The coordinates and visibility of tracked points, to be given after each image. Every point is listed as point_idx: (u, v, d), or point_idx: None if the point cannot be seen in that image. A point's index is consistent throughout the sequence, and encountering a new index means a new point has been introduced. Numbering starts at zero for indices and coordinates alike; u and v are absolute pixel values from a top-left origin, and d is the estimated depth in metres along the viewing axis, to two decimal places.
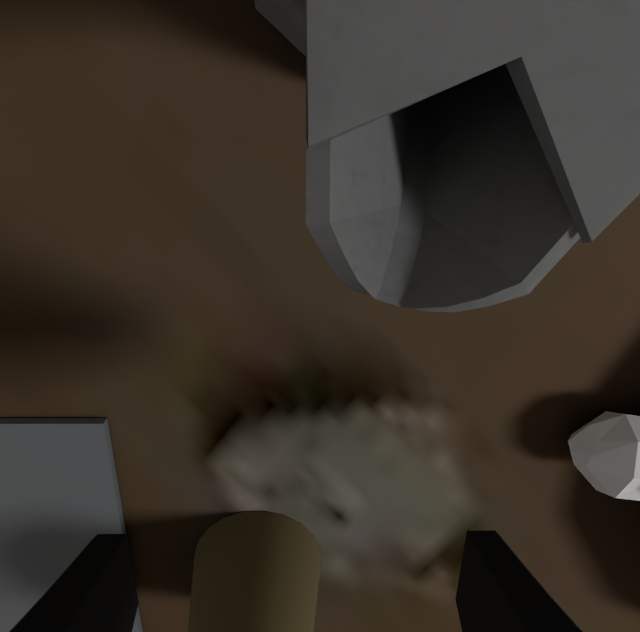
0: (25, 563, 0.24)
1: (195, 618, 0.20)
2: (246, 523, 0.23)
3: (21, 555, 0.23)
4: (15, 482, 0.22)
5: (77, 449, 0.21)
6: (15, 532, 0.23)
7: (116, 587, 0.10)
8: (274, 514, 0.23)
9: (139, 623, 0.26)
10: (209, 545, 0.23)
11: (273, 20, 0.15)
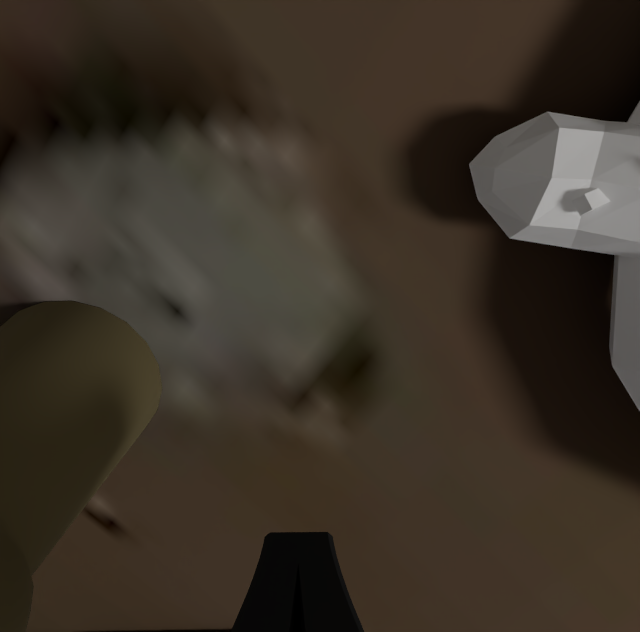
0: None
1: None
2: (41, 311, 0.17)
3: None
4: None
5: None
6: None
7: None
8: (87, 307, 0.17)
9: None
10: None
11: None
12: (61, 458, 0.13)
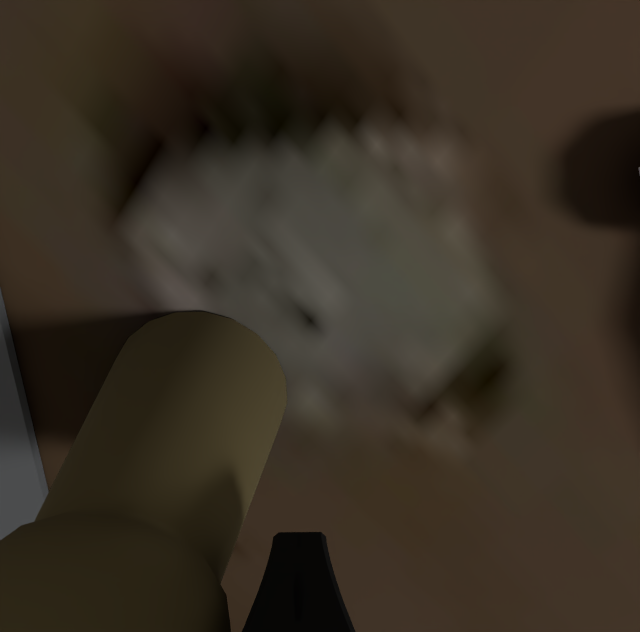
0: None
1: (84, 423, 0.14)
2: (176, 322, 0.16)
3: None
4: None
5: None
6: None
7: None
8: (218, 318, 0.17)
9: (44, 487, 0.19)
10: (123, 351, 0.16)
11: None
12: (231, 480, 0.12)
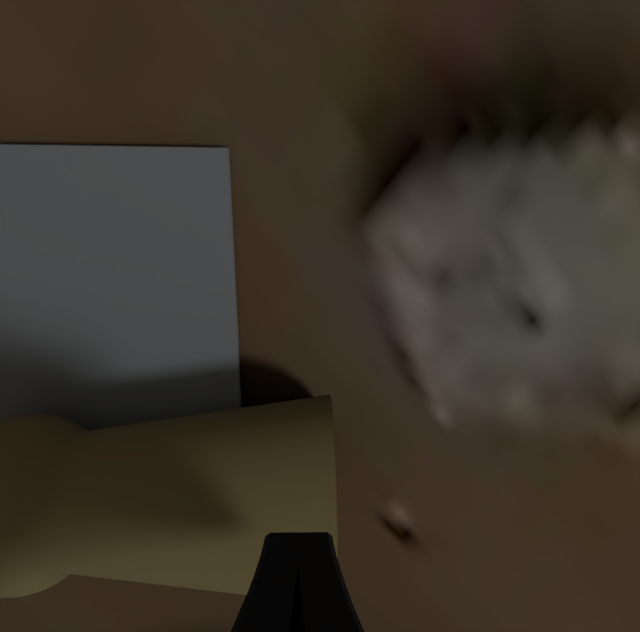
0: (99, 385, 0.17)
1: (200, 416, 0.16)
2: (311, 456, 0.13)
3: (95, 372, 0.17)
4: (93, 249, 0.15)
5: (186, 193, 0.15)
6: (89, 334, 0.16)
7: None
8: (336, 504, 0.13)
9: None
10: (296, 409, 0.15)
11: None
12: (126, 570, 0.14)
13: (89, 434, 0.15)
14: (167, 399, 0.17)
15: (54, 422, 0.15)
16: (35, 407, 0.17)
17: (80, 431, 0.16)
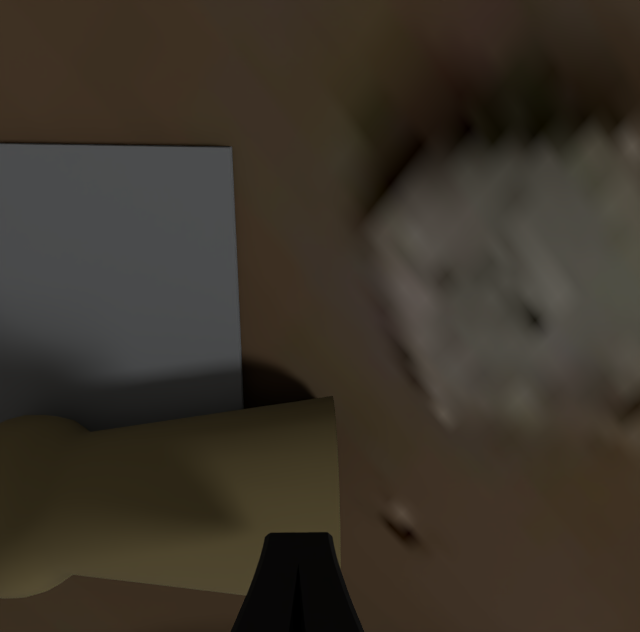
0: (102, 384, 0.17)
1: (202, 418, 0.16)
2: (314, 459, 0.13)
3: (97, 371, 0.17)
4: (96, 249, 0.15)
5: (188, 193, 0.15)
6: (91, 333, 0.16)
7: None
8: (339, 507, 0.13)
9: None
10: (299, 411, 0.15)
11: None
12: (130, 572, 0.14)
13: (92, 435, 0.15)
14: (170, 399, 0.17)
15: (56, 423, 0.15)
16: (37, 406, 0.17)
17: (82, 432, 0.16)
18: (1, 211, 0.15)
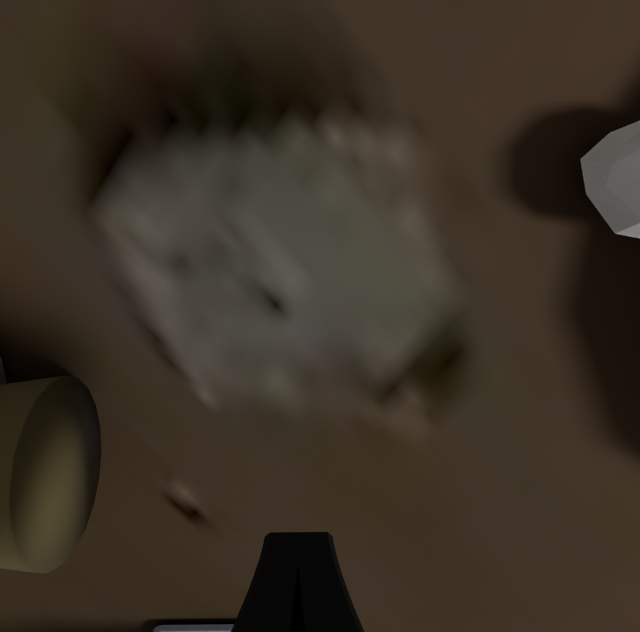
0: None
1: None
2: (0, 432, 0.14)
3: None
4: None
5: None
6: None
7: None
8: (13, 477, 0.14)
9: None
10: (16, 388, 0.16)
11: None
12: None
13: None
14: None
15: None
16: None
17: None
18: None
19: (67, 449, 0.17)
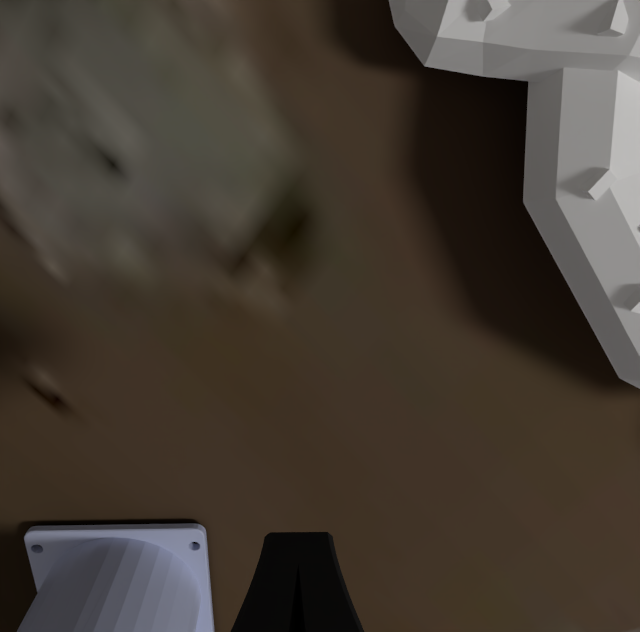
0: None
1: None
2: None
3: None
4: None
5: None
6: None
7: None
8: None
9: None
10: None
11: None
12: None
13: None
14: None
15: None
16: None
17: None
18: None
19: None
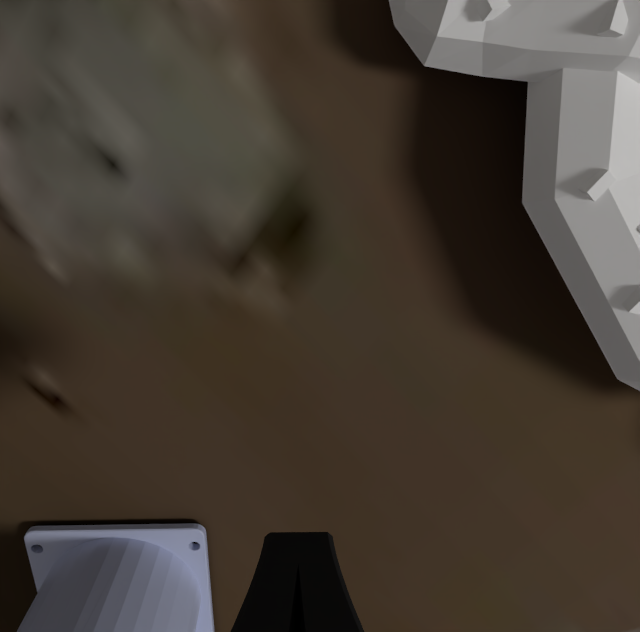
0: None
1: None
2: None
3: None
4: None
5: None
6: None
7: None
8: None
9: None
10: None
11: None
12: None
13: None
14: None
15: None
16: None
17: None
18: None
19: None
